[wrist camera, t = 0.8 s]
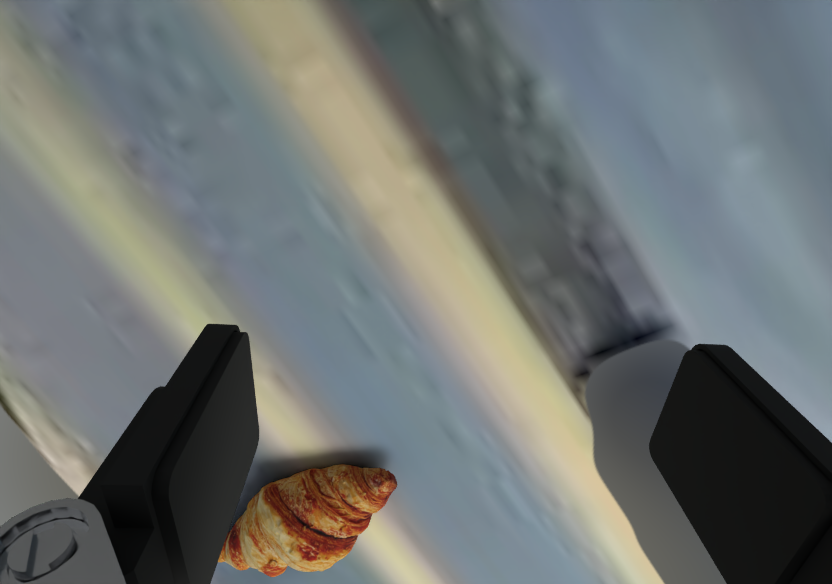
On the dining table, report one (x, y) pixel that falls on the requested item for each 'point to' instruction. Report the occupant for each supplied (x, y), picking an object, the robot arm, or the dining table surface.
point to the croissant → (307, 519)
